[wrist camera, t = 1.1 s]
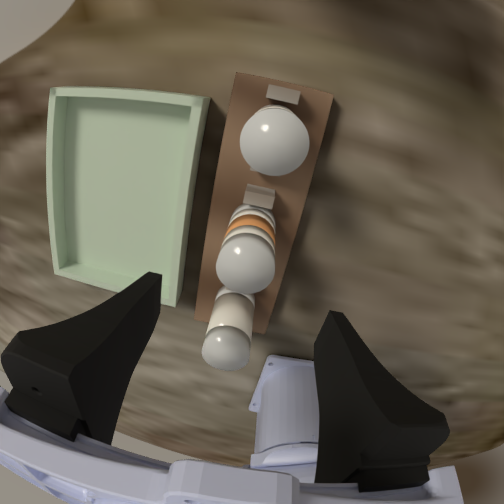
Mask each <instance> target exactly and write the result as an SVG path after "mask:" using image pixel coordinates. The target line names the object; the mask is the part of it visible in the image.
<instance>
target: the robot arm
mask: <svg viewBox="0 0 504 504" xmlns="http://www.w3.org/2000/svg"><path fill="white" fill-rule="evenodd" d="M161 289H162V274H158V273H154V272H150V271H149V272H147V273H146V274H144V275H143V276H141V277H140V278H139V279H137V280H136V281H135V282H133V283H132V284H130V285H129V286H128V287H126V288H125V289H123V290H122V291H120V292H119V293H118V294H116V295H115V296H113V297H111V298H110V299H108V300H107V301H105V302H103V303H102V304H100V305H98V306H96V307H94V308H92V309H90V310H88V311H86V312H84V313H82V314H80V315H77V316H75V317H72V318H70V319H67V320H64V321H62V322H58V323H55V324H52V325H48V326H44V327H40V328H35V329H30V330H24V331H19V332H18V333H17V334H16V336H15V337H14V338H13V339H12V341H11V342H10V343H9V344H8V346H7V347H6V348H5V350H4V351H3V353H2V354H1V363H2V366H3V369H4V371H5V373H6V375H7V377H8V378H9V381H10V383H11V384H12V386H13V389H12V390H11V392H10V394H9V393H8V392H7V391H6V390H5V389H4V388H2V387H1V386H0V464H1V465H3V466H5V467H6V468H8V469H9V470H11V471H12V472H14V473H15V474H17V475H19V476H20V477H22V478H23V479H25V480H27V481H28V482H30V483H32V484H34V485H35V486H37V487H39V488H40V489H42V490H44V491H46V492H48V493H49V494H51V495H53V496H55V497H57V498H59V499H61V500H63V501H65V502H67V503H69V504H464V503H463V498H462V494H461V490H460V486H459V482H458V478H457V474H456V470H455V467H454V466H453V465H451V466H445V467H439V468H434V469H432V470H429V471H428V469H427V465H428V464H429V463H430V458H429V455H430V454H431V453H432V452H434V451H435V450H436V449H437V448H438V447H439V446H441V445H442V444H443V443H444V442H445V441H446V439H447V438H448V436H449V434H450V430H449V427H448V424H447V421H446V418H445V415H444V414H443V413H442V412H440V411H438V410H437V409H435V408H433V407H431V406H430V405H428V404H427V403H425V402H424V401H422V400H421V399H419V398H418V397H417V396H415V395H414V394H413V393H411V392H410V391H409V390H408V389H406V388H405V387H404V386H403V385H402V384H401V383H400V382H398V381H397V380H396V379H395V378H394V377H393V376H392V375H391V374H390V373H389V372H388V371H387V370H386V369H385V368H384V367H383V365H382V364H381V363H380V362H379V361H378V360H377V358H376V357H375V356H374V355H373V354H372V352H371V351H370V350H369V348H368V347H367V346H366V345H365V343H364V342H363V340H362V339H361V338H360V336H359V335H358V333H357V332H356V331H355V329H354V328H353V326H352V325H351V323H350V322H349V321H348V319H347V318H346V317H345V315H344V314H343V313H341V312H336V311H331V310H329V313H328V315H327V317H326V319H325V322H324V324H323V326H322V328H321V330H320V333H319V335H318V337H317V339H316V341H315V343H314V361H309V360H302V359H296V358H290V357H284V356H278V355H269V356H268V357H267V359H266V362H265V365H264V367H263V370H262V373H261V376H260V378H259V381H258V384H257V386H256V389H255V392H254V394H253V397H252V400H251V402H250V405H249V410H250V411H253V412H257V424H256V437H255V450H254V454H252V455H251V463H250V465H243V466H242V467H238V466H231V465H225V464H219V463H214V462H209V461H203V460H194V459H184V460H177V461H175V462H174V463H173V464H171V463H167V462H163V461H159V460H155V459H152V458H148V457H145V456H141V455H138V454H135V453H132V452H128V451H125V450H122V449H119V448H116V447H113V446H111V442H112V439H113V434H114V431H115V427H116V423H117V420H118V416H119V412H120V409H121V406H122V403H123V399H124V396H125V393H126V390H127V387H128V384H129V381H130V378H131V376H132V374H133V371H134V369H135V367H136V365H137V363H138V361H139V359H140V357H141V355H142V353H143V351H144V349H145V347H146V345H147V343H148V341H149V339H150V337H151V335H152V333H153V331H154V328H155V325H156V322H157V320H158V317H159V314H160V307H161Z"/></svg>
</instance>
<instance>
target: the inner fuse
mask: <svg viewBox="0 0 504 504" xmlns="http://www.w3.org/2000/svg"><path fill="white" fill-rule="evenodd" d="M225 288H226V286H225V285H224V286H222V287H221V288H220V289H219V291H218V292H217V295H216V299H215V303H214V307H213V310H212V314H211V318H210V322H209V325H208V329H207V333H206V337H205V340H204V344H203V348H202V356H203V358H204V360H205V361H206V362H207V363H208V364H209V365H211V366H212V367H214V368H217V369H220V370H225V371H233V370H238V369H240V368H242V367H244V366H245V365H246V364H247V363H248V361H249V356H250V346H251V337H252V327H253V317H254V307H255V296H254V294H253V293H251V294H243V293H238V292H235V291H231V290H226V289H225Z"/></svg>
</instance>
